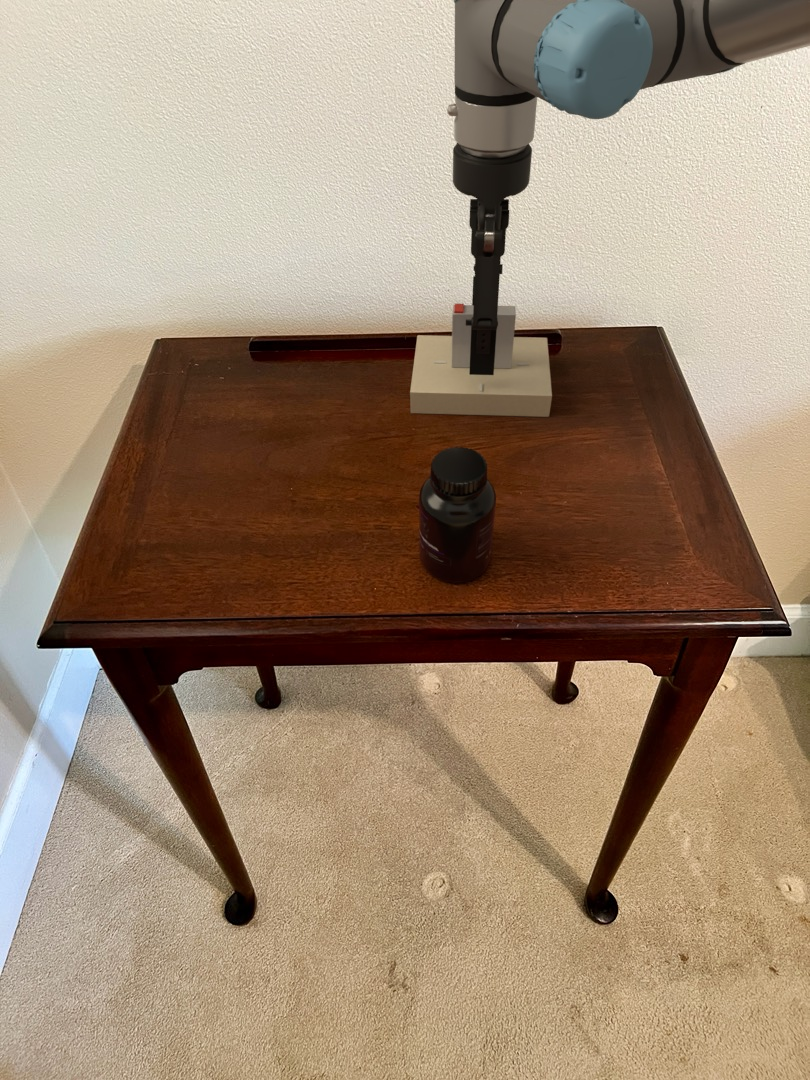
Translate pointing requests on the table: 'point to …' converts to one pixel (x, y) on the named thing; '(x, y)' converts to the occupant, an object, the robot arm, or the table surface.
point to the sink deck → (481, 381)
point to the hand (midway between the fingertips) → (482, 349)
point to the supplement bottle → (456, 516)
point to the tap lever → (463, 336)
